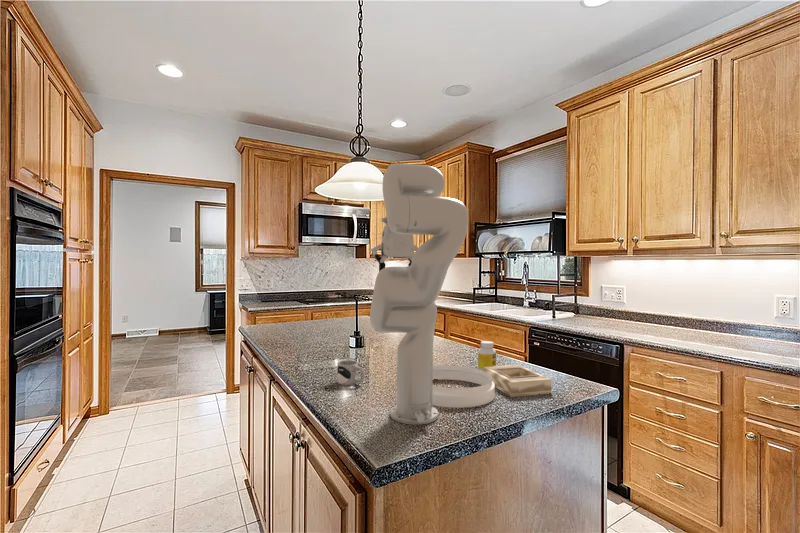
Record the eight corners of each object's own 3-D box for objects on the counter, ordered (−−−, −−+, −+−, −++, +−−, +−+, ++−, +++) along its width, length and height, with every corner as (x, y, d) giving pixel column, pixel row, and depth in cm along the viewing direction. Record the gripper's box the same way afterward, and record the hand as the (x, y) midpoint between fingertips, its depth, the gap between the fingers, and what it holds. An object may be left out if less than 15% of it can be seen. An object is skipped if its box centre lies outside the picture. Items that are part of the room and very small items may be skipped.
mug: (333, 383, 130) (333, 363, 130) (345, 378, 136) (345, 359, 136) (357, 388, 125) (358, 367, 125) (369, 383, 131) (369, 363, 131)
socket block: (551, 393, 122) (551, 378, 122) (511, 397, 118) (511, 381, 118) (519, 377, 139) (519, 364, 139) (483, 380, 136) (483, 366, 136)
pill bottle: (491, 377, 139) (491, 344, 139) (474, 374, 143) (475, 342, 143) (498, 373, 144) (499, 341, 144) (482, 370, 148) (482, 339, 148)
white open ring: (496, 412, 107) (496, 392, 107) (400, 404, 112) (400, 385, 112) (493, 383, 133) (493, 367, 133) (415, 377, 139) (415, 362, 139)
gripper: (374, 220, 120) (374, 275, 120) (426, 222, 126) (426, 275, 126) (368, 222, 127) (368, 274, 127) (417, 224, 133) (417, 274, 133)
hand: (396, 275), depth 126 cm, fingers open, 9 cm apart
